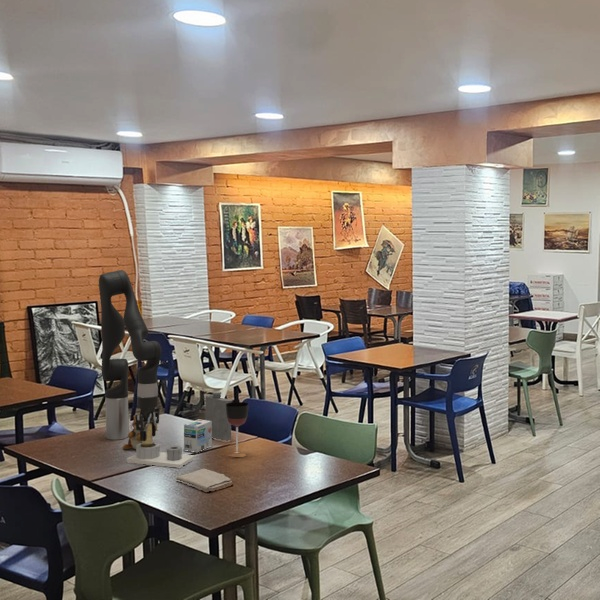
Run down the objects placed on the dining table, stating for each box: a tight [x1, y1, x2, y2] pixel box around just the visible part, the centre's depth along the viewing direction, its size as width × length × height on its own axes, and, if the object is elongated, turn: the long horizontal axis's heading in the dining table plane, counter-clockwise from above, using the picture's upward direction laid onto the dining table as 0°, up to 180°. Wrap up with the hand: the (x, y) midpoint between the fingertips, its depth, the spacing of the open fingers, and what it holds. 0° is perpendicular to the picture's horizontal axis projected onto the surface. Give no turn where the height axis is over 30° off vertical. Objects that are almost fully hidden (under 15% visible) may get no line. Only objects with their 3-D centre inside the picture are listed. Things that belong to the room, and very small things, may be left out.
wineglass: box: [226, 401, 249, 453], centre depth 266 cm, size 8×9×20 cm
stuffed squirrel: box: [121, 414, 158, 451], centre depth 277 cm, size 10×14×13 cm
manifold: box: [126, 441, 196, 467], centre depth 258 cm, size 22×12×6 cm, turn 72°
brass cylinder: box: [142, 423, 154, 447], centre depth 260 cm, size 4×4×12 cm
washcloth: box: [175, 468, 233, 490], centre depth 234 cm, size 12×18×3 cm, turn 48°
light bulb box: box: [183, 418, 213, 453], centre depth 274 cm, size 11×7×11 cm, turn 154°
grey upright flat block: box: [205, 391, 232, 441], centre depth 289 cm, size 16×4×20 cm, turn 43°
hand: (147, 438), depth 259 cm, fingers open, 6 cm apart
